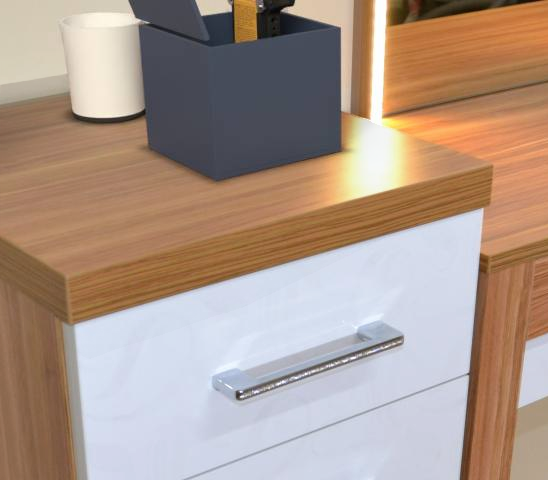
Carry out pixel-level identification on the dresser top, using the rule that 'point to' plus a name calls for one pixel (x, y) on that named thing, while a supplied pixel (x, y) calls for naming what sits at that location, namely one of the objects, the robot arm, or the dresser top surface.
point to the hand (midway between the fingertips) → (256, 45)
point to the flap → (172, 16)
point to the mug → (104, 66)
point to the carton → (242, 95)
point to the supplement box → (245, 20)
